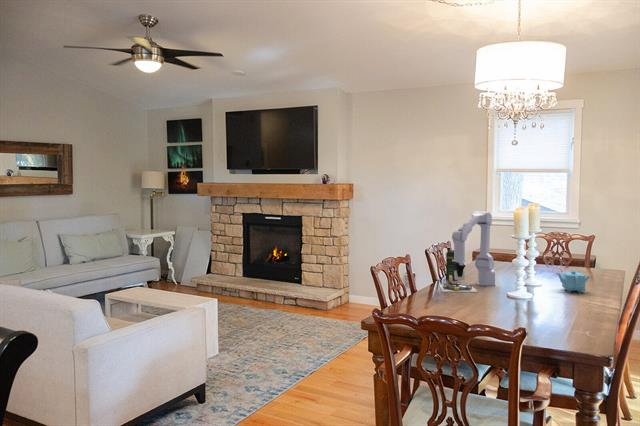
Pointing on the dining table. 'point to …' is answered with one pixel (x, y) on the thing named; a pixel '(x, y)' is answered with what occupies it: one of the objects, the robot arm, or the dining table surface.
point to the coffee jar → (450, 265)
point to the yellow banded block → (457, 275)
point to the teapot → (573, 281)
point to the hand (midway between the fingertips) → (459, 276)
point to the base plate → (457, 290)
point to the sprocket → (456, 285)
